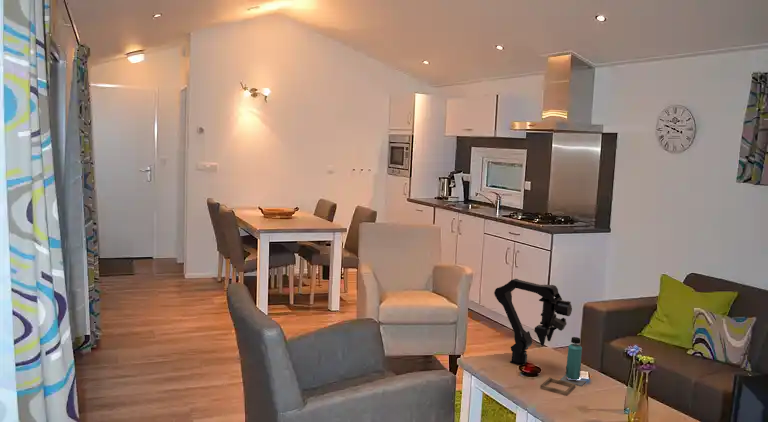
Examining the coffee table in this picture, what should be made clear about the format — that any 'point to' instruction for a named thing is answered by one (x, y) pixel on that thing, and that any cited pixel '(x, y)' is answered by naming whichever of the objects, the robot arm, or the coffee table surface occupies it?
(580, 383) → the grey coaster
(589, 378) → the coffee table surface
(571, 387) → the walnut collar
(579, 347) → the beverage bottle
